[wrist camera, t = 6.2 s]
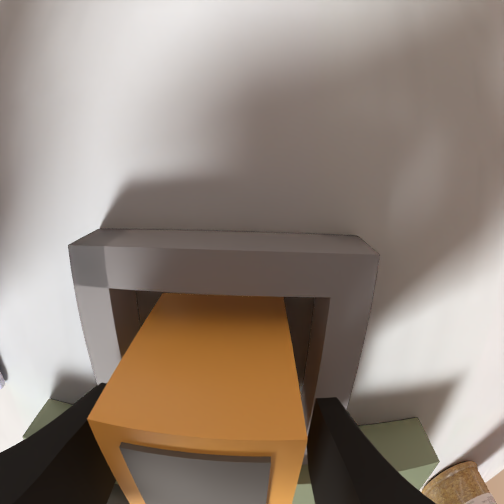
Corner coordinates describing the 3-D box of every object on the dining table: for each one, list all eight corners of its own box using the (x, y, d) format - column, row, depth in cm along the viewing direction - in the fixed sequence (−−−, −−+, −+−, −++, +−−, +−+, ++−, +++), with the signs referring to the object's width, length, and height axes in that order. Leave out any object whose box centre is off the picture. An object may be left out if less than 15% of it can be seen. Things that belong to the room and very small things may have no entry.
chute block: (178, 408, 12) (144, 532, 6) (163, 292, 10) (83, 424, 5) (274, 412, 12) (281, 544, 6) (283, 296, 10) (308, 445, 5)
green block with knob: (92, 482, 15) (70, 538, 10) (3, 228, 10) (-88, 270, 5) (373, 497, 15) (388, 558, 10) (472, 242, 10) (566, 294, 5)
